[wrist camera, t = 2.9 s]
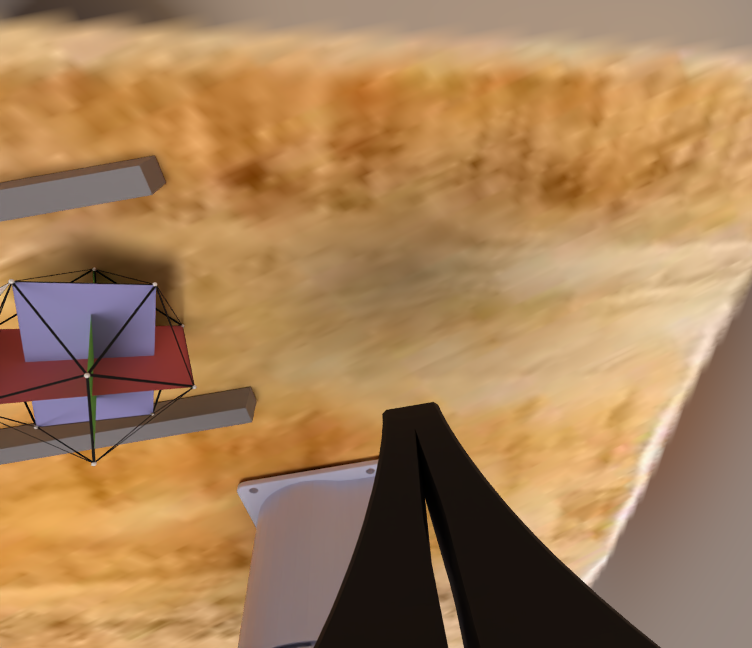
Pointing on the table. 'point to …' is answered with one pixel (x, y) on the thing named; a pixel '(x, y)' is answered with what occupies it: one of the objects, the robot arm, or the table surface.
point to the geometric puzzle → (89, 353)
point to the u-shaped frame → (174, 420)
